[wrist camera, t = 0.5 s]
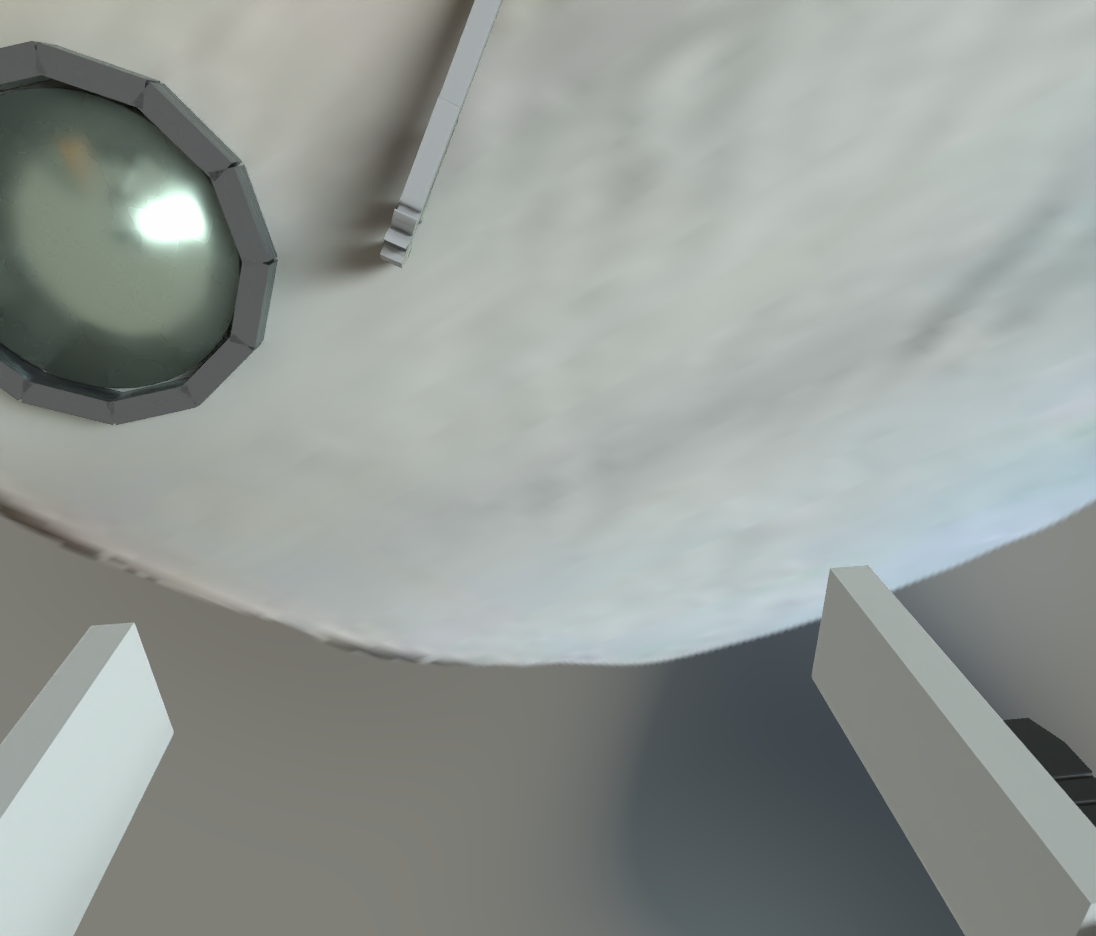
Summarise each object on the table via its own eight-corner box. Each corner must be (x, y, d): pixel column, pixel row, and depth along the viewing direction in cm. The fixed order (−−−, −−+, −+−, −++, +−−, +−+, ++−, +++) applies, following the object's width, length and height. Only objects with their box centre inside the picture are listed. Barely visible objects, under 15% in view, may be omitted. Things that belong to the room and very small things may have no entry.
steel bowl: (-181, 97, 31) (-211, 95, 29) (189, 13, 31) (176, 8, 29) (17, 438, 38) (0, 450, 37) (318, 372, 38) (312, 381, 36)
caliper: (410, 257, 36) (396, 281, 30) (389, 248, 36) (371, 271, 30) (587, -222, 29) (613, -308, 23) (562, -238, 28) (582, -330, 23)
